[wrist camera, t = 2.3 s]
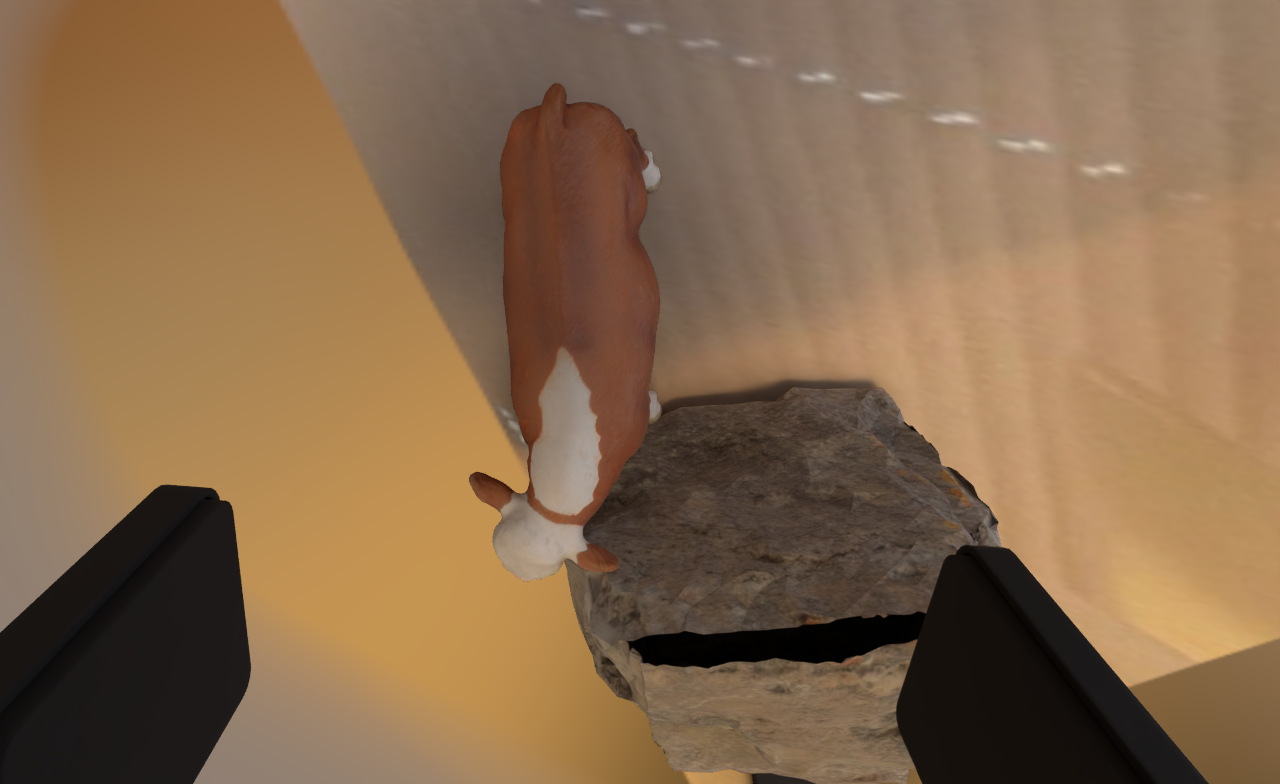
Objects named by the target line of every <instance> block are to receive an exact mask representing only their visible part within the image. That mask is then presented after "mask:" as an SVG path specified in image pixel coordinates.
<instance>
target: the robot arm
mask: <svg viewBox="0 0 1280 784" xmlns="http://www.w3.org/2000/svg"><path fill="white" fill-rule="evenodd" d="M250 672H251V663H250V654H249V645H248V637H247V627H246V619H245V610H244V601H243V594H242V584H241V575H240V567H239V558H238V550H237V541H236V532H235V523H234V515H233V510H232V506H231V504H230V503H229V502H227V501H222V500H220V499H219V496H218V494H217V492H216V491H215V490H214V489H212V488H204V487H190V486H177V485H161V486H159V487H158V488H156V489H155V490H154V491H153V492H151V493H150V494H149V495H148V496H147V497H146V498H145V499H144V500H143V501H142V502H141V503H140V504H139V505H137V506H136V508H134V509H133V510H132V511H131V512H130V513H129V514H128V515H127V516H126V517H125V518H123V520H121V521H120V522H119V523H118V524H117V525H116V526H115V527H114V528H113V529H112V530H110V531H109V532H108V533H107V534H106V535H105V536H104V537H103V538H102V539H101V540H100V541H99V542H98V543H97V544H95V545H94V546H93V547H92V548H91V549H90V550H89V551H88V552H87V553H86V554H85V555H84V556H82V557H81V558H80V559H79V560H78V561H77V562H76V563H75V564H74V565H73V566H72V567H71V568H69V570H67V571H66V572H65V573H64V574H63V575H62V576H61V577H60V578H59V579H58V580H57V581H56V582H54V583H53V584H52V585H51V586H50V587H49V588H48V589H47V590H46V591H45V592H44V593H43V594H42V595H40V597H38V598H37V599H36V600H35V601H34V602H33V603H32V604H31V605H30V606H29V607H27V608H26V609H25V610H24V611H23V612H22V613H21V614H20V615H19V616H18V617H17V618H16V619H14V620H13V621H12V622H11V623H10V624H9V625H8V626H7V627H6V628H5V629H4V630H3V631H2V632H1V633H0V784H193V783H194V781H195V779H196V778H197V776H198V774H199V772H200V771H201V769H202V767H203V766H204V764H205V762H206V760H207V759H208V757H209V755H210V754H211V752H212V750H213V748H214V747H215V745H216V743H217V742H218V740H219V738H220V736H221V734H222V733H223V731H224V729H225V728H226V726H227V724H228V723H229V721H230V719H231V717H232V716H233V714H234V712H235V710H236V708H237V707H238V705H239V704H240V702H241V700H242V698H243V696H244V694H245V692H246V689H247V687H248V683H249V679H250ZM896 720H897V725H898V729H899V732H900V734H901V736H902V739H903V741H904V743H905V746H906V748H907V750H908V752H909V755H910V757H911V759H912V761H913V764H914V766H915V768H916V770H917V772H918V775H919V777H920V779H921V781H922V784H1208V782H1207V781H1206V780H1205V779H1204V778H1203V776H1202V775H1201V774H1200V773H1199V772H1198V770H1197V769H1196V768H1195V767H1194V766H1193V765H1192V763H1191V762H1190V761H1189V760H1188V759H1187V757H1186V756H1185V755H1184V754H1183V753H1182V752H1181V750H1180V749H1179V748H1178V747H1177V746H1176V744H1175V743H1174V742H1173V741H1172V740H1171V739H1170V737H1169V736H1168V735H1167V734H1166V733H1165V731H1164V730H1163V729H1162V728H1161V727H1160V725H1159V724H1158V723H1157V722H1156V721H1155V720H1154V718H1153V717H1152V716H1151V715H1150V714H1149V712H1148V711H1147V710H1146V709H1145V708H1144V707H1143V705H1142V704H1141V703H1140V702H1139V701H1138V699H1137V698H1136V697H1135V696H1134V695H1133V694H1132V692H1131V691H1130V690H1129V689H1128V688H1127V686H1126V685H1125V684H1124V683H1123V682H1122V680H1121V679H1120V678H1119V677H1118V676H1117V675H1116V673H1115V672H1114V671H1113V670H1112V669H1111V667H1110V666H1109V665H1108V664H1107V663H1106V661H1105V660H1104V659H1103V658H1102V657H1101V656H1100V654H1099V653H1098V652H1097V651H1096V650H1095V648H1094V647H1093V646H1092V645H1091V644H1090V643H1089V641H1088V640H1087V639H1086V638H1085V637H1084V635H1083V634H1082V633H1081V632H1080V631H1079V629H1078V628H1077V627H1076V626H1075V625H1074V624H1073V622H1072V621H1071V620H1070V619H1069V618H1068V616H1067V615H1066V614H1065V613H1064V612H1063V611H1062V609H1061V608H1060V607H1059V606H1058V605H1057V603H1056V602H1055V601H1054V600H1053V599H1052V597H1051V596H1050V595H1049V594H1048V593H1047V592H1046V590H1045V589H1044V588H1043V587H1042V586H1041V584H1040V583H1039V582H1038V581H1037V580H1036V579H1035V577H1034V576H1033V575H1032V574H1031V573H1030V571H1029V570H1028V569H1027V568H1026V567H1025V565H1024V564H1023V563H1022V562H1021V561H1020V560H1019V558H1018V557H1017V556H1016V555H1015V554H1014V553H1013V552H1012V551H1011V550H1010V549H1007V548H1003V547H990V546H977V545H964V546H961V547H960V548H959V549H958V550H957V552H956V554H955V555H954V554H951V555H948V556H947V557H946V558H945V560H944V562H943V564H942V567H941V570H940V573H939V576H938V579H937V582H936V585H935V588H934V591H933V594H932V597H931V600H930V603H929V606H928V610H927V613H926V616H925V619H924V622H923V625H922V628H921V631H920V634H919V637H918V640H917V643H916V646H915V649H914V652H913V655H912V658H911V661H910V664H909V667H908V670H907V673H906V676H905V679H904V682H903V685H902V688H901V691H900V694H899V698H898V701H897V705H896Z"/></svg>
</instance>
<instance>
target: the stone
mask: <svg viewBox="0 0 1280 784" xmlns="http://www.w3.org/2000/svg"><path fill="white" fill-rule="evenodd" d="M997 525H998V521H997V519H996V518H995V516H994V514H993V513H992V511H991V510H990V508H989V506H987V505H986V504H985V503H984V502H983V501H981V500H980V499H979V498H978V496H977V493H976V491H975V489H974V486H973V485H972V484H971V483H970V482H969V481H967V480H966V479H965V478H964V477H963V476H962V475H960V474H959V473H958V472H957V471H956V470H954V469H952V468H950V467H945V466H942V465H941V462H940V458H939V454H938V452H937V450H936V449H935V448H934V447H933V445H932V444H931V443H928V442H927V441H926V440H925V439H924V437H923V435H920V434H919V433H918V432H917V431H916V430H915V428H914V427H913V426H908V425H907V424H906V423H905V422H904V419H903V417H902V414H901V411H900V409H899V408H898V406H897V405H896V403H895V402H894V400H893V399H892V398H891V397H890V396H889V395H888V394H887V392H886V391H885V390H884V389H883V388H836V389H810V388H796V387H792V388H791V389H790V390H789V391H787V392H786V393H785V394H783V395H782V396H781V397H780V398H778V399H777V400H776V401H774V402H772V401H754V402H747V403H740V404H724V405H705V406H692V407H679V408H677V409H675V410H673V411H671V412H669V413H667V414H664V415H662V416H660V418H659V419H658V421H657V422H655V423H653V424H648V428H647V431H646V434H645V437H644V440H643V442H642V444H641V446H640V448H639V449H638V450H637V452H636V453H635V454H634V455H633V456H632V457H630V458H629V459H628V460H627V462H626V463H625V465H624V466H623V468H622V470H621V472H620V475H619V477H618V479H617V480H616V482H615V483H614V485H613V487H612V488H611V490H610V492H609V493H608V495H607V497H606V499H605V500H604V502H603V503H602V505H601V506H600V508H599V509H598V511H597V512H596V513H595V514H594V515H593V516H592V517H591V518H590V519H589V520H588V522H587V523H586V524H585V526H584V527H583V537H584V538H585V540H586V541H587V542H590V543H592V544H596V545H598V546H601V547H603V548H605V549H607V550H609V551H610V552H611V553H613V554H614V555H615V556H616V557H617V558H618V561H619V563H620V566H619V568H618V569H616V570H615V571H612V572H592V571H587V570H585V569H582V568H581V567H579V566H578V565H577V564H576V563H575V562H574V561H572V560H571V559H566V560H565V561H564V562H565V565H566V568H567V573H568V580H569V585H570V591H571V596H572V601H573V604H574V608H575V612H576V615H577V619H578V622H579V626H580V629H581V630H582V633H583V635H584V637H585V640H586V642H587V644H588V647H589V649H590V651H591V653H592V655H593V659H594V663H595V667H596V672H597V674H598V675H599V676H600V677H601V678H602V679H603V680H604V682H605V683H606V684H607V685H608V686H609V687H610V689H611V690H612V691H613V692H614V693H615V694H616V696H617V697H620V698H624V699H627V700H630V701H631V702H633V703H635V704H636V705H637V706H638V707H640V708H641V710H643V711H644V712H645V713H646V714H647V717H648V720H649V723H650V727H651V731H652V738H653V739H654V742H655V743H656V744H657V745H658V746H660V747H661V748H663V751H664V754H665V755H666V760H667V764H668V765H669V766H670V767H672V770H673V771H686V772H717V771H722V770H727V769H732V770H735V771H738V772H741V773H773V774H777V775H781V776H787V777H794V778H800V779H805V780H808V781H810V782H813V783H816V784H876V783H891V782H894V783H905V784H906V782H907V780H908V777H909V774H908V769H915V770H916V768H915V766H914V764H913V761H912V759H911V757H910V755H909V752H908V750H907V748H906V746H905V743H904V741H903V739H902V736H901V734H900V732H899V729H898V725H897V720H896V705H897V701H898V698H899V694H900V691H901V688H902V685H903V682H904V679H905V676H906V673H907V670H908V667H909V664H910V661H911V658H912V655H913V652H914V649H915V646H916V643H917V640H918V637H919V634H920V631H921V628H922V625H923V622H924V619H925V616H926V613H927V610H928V606H929V603H930V600H931V597H932V594H933V591H934V588H935V585H936V582H937V579H938V576H939V573H940V570H941V567H942V564H943V562H944V560H945V558H946V557H947V556H948V555H951V554H954V555H955V554H956V552H957V550H958V549H959V548H960V547H961V546H964V545H977V546H990V547H1001V543H1000V539H999V535H998V531H997Z"/></svg>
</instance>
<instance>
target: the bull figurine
mask: <svg viewBox="0 0 1280 784" xmlns="http://www.w3.org/2000/svg"><path fill="white" fill-rule="evenodd" d="M566 96H567V95H566V91H565V88H564V86H562V85H561V84H559V83H555V84H553V85H552V86H550V87H549V89H548V90H547V92H546V94H545V96H544V99H543V102H542V105H540V106H536V107H533V108H530V109H526V110H524V111H522V112H520V113H519V114H518V115H517V116H516V118H515V119H514V121H513V123H512V125H511V128H510V131H509V134H508V138H507V142H506V145H505V147H504V150H503V153H502V157H501V162H500V176H501V185H502V207H503V215H504V220H505V234H504V276H503V297H504V305H505V313H506V324H507V334H508V343H509V354H510V368H511V397H512V403H513V407H514V410H515V413H516V415H517V418H518V420H519V425H520V429H521V432H522V435H523V438H524V440H525V442H526V443H527V445H528V447H529V457H528V461H527V464H528V472H529V478H530V482H529V486H528V490H527V491H526V492H525V493H523V494H519V493H516V492H515V491H513V490H512V489H511V488H510V487H508V486H507V485H506V484H504V483H503V482H501V481H499V480H497V479H495V478H492V477H490V476H488V475H486V474H484V473H480V472H475V473H473V474H471V475H470V477H469V482H470V484H471V486H472V488H473V490H474V492H475V494H476V496H477V497H478V498H479V499H480V500H481V501H482V502H485V503H487V504H489V505H491V506H492V507H494V508H496V509H497V510H498V511H499V512H500V513H501V515H502V520H501V522H499V524H498V525H497V526H496V527H495V530H494V533H493V546H494V549H495V552H496V554H497V556H498V558H499V559H500V560H501V562H502V565H503V566H504V567H505V568H506V569H507V570H508V571H510V572H511V573H512V574H513V575H515V576H516V577H517V578H519V579H520V580H522V581H526V582H528V581H531V580H533V579H543V578H545V577H548V576H551V575H554V574H555V573H556V572H558V570H559V569H560V567H561V566H562V564H563V562H564V561H565V560H566V559H571V560H572V561H574V562H575V563H576V564H577V565H578V566H579V567H581V568H582V569H585V570H587V571H592V572H612V571H615V570H616V569H618V568H619V566H620V563H619V561H618V558H617V557H616V556H615V555H614V554H613V553H611V552H610V551H609V550H607V549H605V548H603V547H601V546H598V545H596V544H592V543H590V542H587V541H586V540H585V538H584V537H583V527H584V526H585V524H586V523H587V522H588V520H589V519H590V518H591V517H592V516H593V515H594V514H595V513H596V512H597V511H598V509H599V508H600V506H601V505H602V503H603V502H604V500H605V499H606V497H607V495H608V493H609V492H610V490H611V488H612V487H613V485H614V483H615V482H616V480H617V479H618V477H619V475H620V472H621V470H622V468H623V466H624V465H625V463H626V462H627V460H628V459H629V458H630V457H632V456H633V455H634V454H635V453H636V452H637V450H638V449H639V448H640V446H641V444H642V442H643V440H644V437H645V434H646V431H647V428H648V424H653V423H655V422H657V421H658V419H659V418H660V416H661V413H662V408H661V404H660V402H658V401H657V400H656V399H657V394H656V393H655V392H654V391H649V383H650V378H651V372H652V366H653V359H654V352H655V337H656V330H657V324H658V318H659V306H660V298H659V287H658V282H657V278H656V275H655V272H654V268H653V266H652V263H651V261H650V259H649V256H648V254H647V252H646V250H645V248H644V247H643V245H642V243H641V241H640V239H639V235H638V231H639V227H640V225H641V223H642V221H643V219H644V217H645V214H646V210H647V193H653V192H655V191H657V189H658V188H659V187H660V183H661V174H660V170H659V167H658V166H657V165H655V164H654V163H653V158H652V153H651V151H648V150H644V149H642V147H641V146H640V144H639V142H638V139H637V133H636V131H635V130H634V129H627V130H626V129H625V128H624V126H623V124H622V122H621V120H620V119H619V117H618V116H616V115H615V114H614V113H613V112H612V111H611V110H610V109H608V108H606V107H604V106H602V105H599V104H596V103H588V102H579V103H573V104H567V103H566Z"/></svg>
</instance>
